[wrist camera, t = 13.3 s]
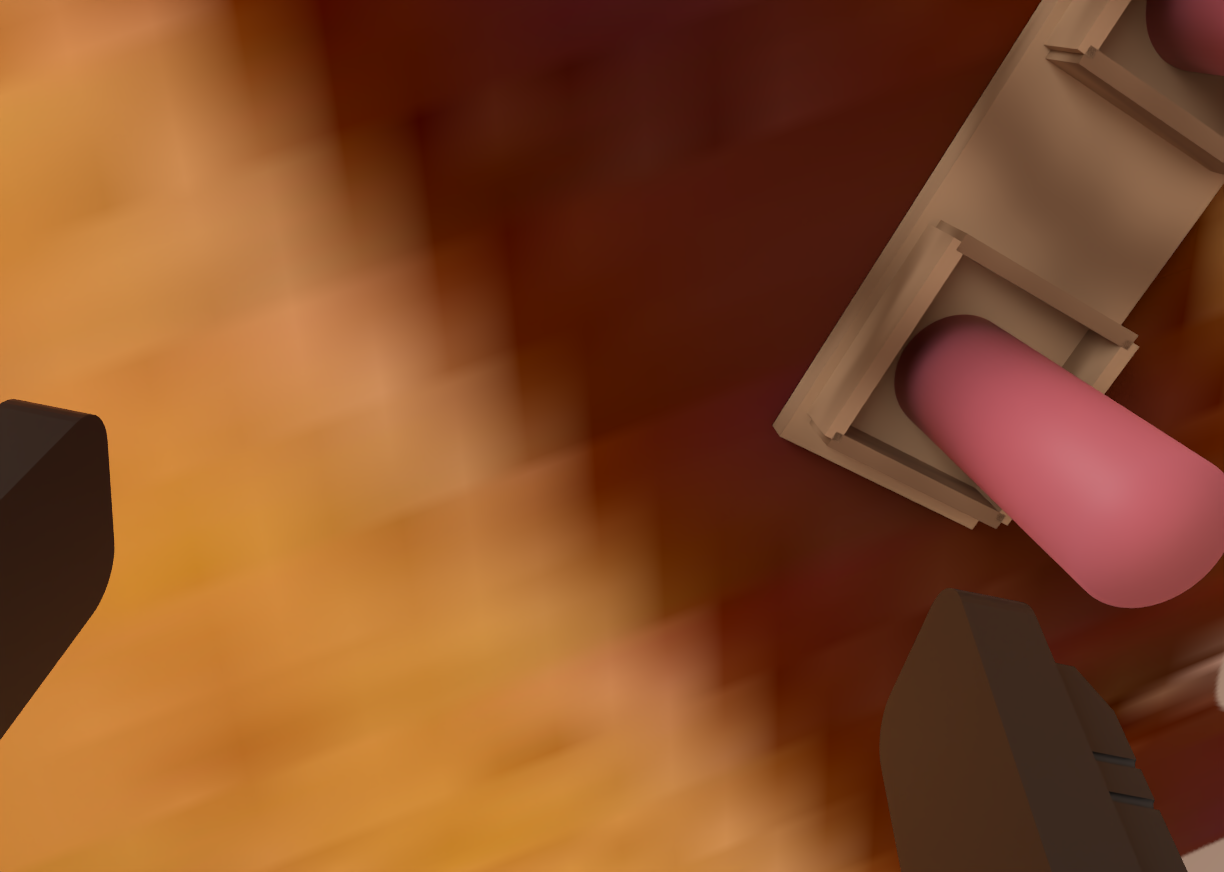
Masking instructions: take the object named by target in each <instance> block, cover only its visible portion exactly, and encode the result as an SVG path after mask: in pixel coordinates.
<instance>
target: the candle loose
mask: <svg viewBox="0 0 1224 872" xmlns="http://www.w3.org/2000/svg"><path fill="white" fill-rule="evenodd" d="M894 388H895V394H896V398H897V401H898V403H899V406H900V407H901V409H902V411H903V412H904V413H905V414H906V416H907V417H908V418H909V419H910V420H911V421H912V422H913V423H914V424H915V425H916V426H917V427H918V428H919V429H920V430H921V431H923V432H924V433H925V434H926V435H927V436H928V437H929V438H930V439H931V440H932V441H933V442H934V443H935V444H936V445H937V446H938V447H939V448H940V449H941V450H942V451H943V452H944V453H945V454H946V455H947V456H948V457H949V458H950V459H951V460H952V461H953V462H954V463H955V464H956V465H957V466H958V467H959V468H960V469H961V470H962V471H963V472H964V473H965V474H967V475H968V476H969V477H970V478H971V479H972V480H973V481H974V482H975V483H976V484H977V485H978V486H979V487H980V488H981V489H982V490H983V491H984V492H985V493H986V494H987V495H988V496H989V497H990V498H991V499H992V500H993V501H994V502H995V503H996V504H997V505H998V506H999V507H1000V508H1001V509H1002V510H1003V511H1004V512H1005V513H1006V514H1007V515H1008V516H1010V517H1011V518H1012V519H1013V520H1014V521H1015V522H1016V523H1017V524H1018V525H1019V526H1020V527H1021V528H1022V529H1023V530H1024V531H1025V532H1026V533H1027V534H1028V535H1029V536H1030V537H1031V538H1032V539H1033V540H1034V541H1035V542H1036V543H1037V544H1038V545H1039V546H1040V547H1041V548H1042V549H1043V550H1044V551H1045V552H1046V553H1047V554H1048V555H1049V556H1050V557H1051V558H1052V559H1054V560H1055V561H1056V562H1057V563H1058V564H1059V565H1060V566H1061V567H1062V568H1063V569H1064V570H1065V571H1066V572H1067V573H1068V574H1069V575H1070V576H1071V577H1072V578H1073V579H1074V580H1075V581H1076V582H1077V583H1078V584H1079V585H1080V586H1081V587H1082V588H1083V589H1084V590H1085V591H1086V592H1087V593H1089V594H1090V595H1091V596H1092V597H1094V598H1095V599H1097V600H1099V601H1101V602H1103V603H1105V604H1108V605H1111V606H1116V607H1122V608H1140V607H1146V606H1151V605H1155V604H1159V603H1162V602H1164V601H1167V600H1170V599H1172V598H1174V597H1176V596H1178V595H1180V594H1181V593H1183V592H1185V591H1186V590H1188V589H1189V588H1191V587H1192V586H1193V585H1195V584H1196V583H1197V582H1199V581H1200V580H1201V579H1202V578H1203V577H1204V576H1205V575H1206V574H1207V573H1208V572H1209V571H1210V570H1211V569H1212V568H1213V567H1214V565H1215V564H1216V563H1217V561H1218V560H1219V559H1220V557H1221V556H1222V554H1223V553H1224V473H1223V472H1222V471H1221V470H1220V469H1218V468H1217V467H1216V466H1215V465H1213V464H1212V463H1210V462H1209V461H1207V460H1205V459H1204V458H1202V457H1201V456H1199V455H1198V454H1196V453H1195V452H1193V451H1191V450H1190V449H1188V448H1187V447H1185V446H1184V445H1182V444H1181V443H1179V442H1177V441H1176V440H1174V439H1173V438H1171V437H1170V436H1168V435H1167V434H1165V433H1163V432H1162V431H1160V430H1159V429H1157V428H1156V427H1154V426H1153V425H1151V424H1149V423H1148V422H1146V421H1145V420H1143V419H1142V418H1140V417H1139V416H1137V415H1135V414H1134V413H1132V412H1131V411H1129V410H1128V409H1126V408H1124V407H1123V406H1121V405H1120V404H1118V403H1117V402H1115V401H1114V400H1112V399H1110V398H1109V397H1107V396H1106V395H1104V394H1103V393H1101V392H1100V391H1098V390H1096V389H1095V388H1093V387H1092V386H1090V385H1089V384H1087V383H1086V382H1084V381H1082V380H1081V379H1079V378H1078V377H1076V376H1075V375H1073V374H1072V373H1070V372H1068V371H1067V370H1065V369H1064V368H1062V367H1061V366H1059V365H1058V364H1056V363H1054V362H1053V361H1051V360H1050V359H1048V358H1047V357H1045V356H1044V355H1042V354H1040V353H1039V352H1037V351H1036V350H1034V349H1033V348H1031V347H1029V346H1028V345H1026V344H1025V343H1023V342H1022V341H1020V340H1019V339H1017V338H1015V337H1014V336H1012V335H1011V334H1009V333H1008V332H1006V331H1005V330H1003V329H1001V328H1000V327H998V326H997V325H995V324H994V323H992V322H991V321H989V320H987V319H985V318H982V317H979V316H975V315H953V316H949V317H945V318H942V319H940V320H937V321H935V322H933V323H931V324H930V325H928V326H927V327H925V328H924V329H922V330H921V331H920V332H919V333H918V334H916V335H915V336H914V338H913V339H912V340H911V341H910V342H909V343H908V345H907V346H906V347H905V349H904V351H903V353H902V354H901V356H900V359H899V361H898V364H897V367H896V371H895V378H894Z"/></svg>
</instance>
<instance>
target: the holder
mask: <svg viewBox="0 0 1224 872" xmlns="http://www.w3.org/2000/svg"><path fill="white" fill-rule="evenodd" d="M1146 4H1147V0H1042V1H1041V3H1040V4H1039V6H1038V8H1037V9H1036V11H1035V12H1034V14H1033V15H1032V17H1031V19H1030V20H1029V22H1028V23H1027V25H1026V26H1025V28H1024V30H1023V31H1022V33H1021V34H1020V36H1019V37H1018V39H1017V41H1016V42H1015V44H1014V45H1013V47H1012V48H1011V50H1010V52H1009V53H1008V55H1007V56H1006V58H1005V60H1004V61H1003V63H1002V64H1001V66H1000V67H999V69H998V71H997V72H996V74H995V75H994V77H993V78H992V80H991V82H990V83H989V85H988V86H987V88H986V89H985V91H984V93H983V94H982V96H981V97H980V99H979V101H978V102H977V104H976V105H975V107H974V108H973V110H972V112H971V113H970V115H969V116H968V118H967V119H966V121H965V123H964V124H963V126H962V127H961V129H960V130H959V132H958V134H957V135H956V137H955V138H954V140H953V142H952V143H951V145H950V146H949V148H948V149H947V151H946V153H945V154H944V156H943V157H942V159H941V160H940V162H939V164H938V165H937V167H936V168H935V170H934V171H933V173H932V175H931V176H930V178H929V179H928V181H927V183H926V184H925V186H924V187H923V189H922V190H921V192H920V194H919V195H918V197H917V198H916V200H915V201H914V203H913V205H912V206H911V208H910V209H909V211H908V212H907V214H906V216H905V217H904V219H903V220H902V222H901V223H900V225H899V227H898V228H897V230H896V231H895V233H894V235H893V236H892V238H891V239H890V241H889V242H888V244H887V246H886V247H885V249H884V250H883V252H882V253H881V255H880V257H879V258H878V260H877V261H876V263H875V264H874V266H873V268H872V269H871V271H870V272H869V274H868V276H867V277H866V279H865V280H864V282H863V283H862V285H861V287H860V288H859V290H858V291H857V293H856V294H855V296H854V298H853V299H852V301H851V302H850V304H849V305H848V307H847V309H846V310H845V312H844V313H843V315H842V317H841V318H840V320H839V321H838V323H837V324H836V326H835V328H834V329H833V331H832V332H831V334H830V335H829V337H828V339H827V340H826V342H825V343H824V345H823V346H822V348H821V350H820V351H819V353H818V354H817V356H816V358H815V359H814V361H813V362H812V364H811V365H810V367H809V369H808V370H807V372H806V373H805V375H804V376H803V378H802V380H801V381H800V383H799V384H798V386H797V387H796V389H795V391H794V392H793V394H792V395H791V397H790V398H789V400H788V402H787V403H786V405H785V406H784V408H783V410H782V411H781V413H780V414H779V416H778V417H777V419H776V421H775V422H774V424H773V427H774V428H775V430H776V431H777V433H778V434H779V436H780V437H782V438H784V439H787V440H789V441H791V442H793V443H795V444H797V445H799V446H801V447H803V448H805V449H807V450H809V451H811V452H813V453H815V454H817V455H820V456H822V457H824V458H826V459H828V460H830V461H832V462H834V463H836V464H838V465H840V466H842V467H844V468H846V469H848V470H850V471H852V472H855V473H857V474H859V475H861V476H863V477H865V478H867V479H869V480H871V481H873V482H875V483H877V484H879V485H881V486H883V487H885V488H888V489H890V490H892V491H894V492H896V493H898V494H900V495H902V496H904V497H906V498H908V499H910V500H912V501H914V502H916V503H918V504H920V505H923V506H925V507H927V508H929V509H931V510H933V511H935V512H937V513H939V514H941V515H943V516H945V517H947V518H949V519H951V520H953V521H956V522H958V523H960V524H962V525H964V526H966V527H968V528H970V529H973V528H974V526H975V525H976V524H977V522H978V521H981V522H983V523H985V524H987V525H989V526H991V527H993V528H995V529H997V527H998V526H999V525H1000V523H1003V524H1005V525H1008V524H1009V523H1010V521H1011V520H1012V518H1011V517H1010V516H1008V515H1007V514H1006V513H1005V512H1004V511H1003V510H1002V509H1001V508H1000V507H999V506H998V505H997V504H996V503H995V502H994V501H993V500H992V499H991V498H990V497H989V496H988V495H987V494H986V493H985V492H984V491H983V490H982V489H981V488H980V487H979V486H978V485H977V484H976V483H975V482H974V481H973V480H972V479H971V478H970V477H969V476H968V475H967V474H965V473H964V472H963V471H962V470H961V469H960V468H959V467H958V466H957V465H956V464H955V463H954V462H953V461H952V460H951V459H950V458H949V457H948V456H947V455H946V454H945V453H944V452H943V451H942V450H941V449H940V448H939V447H938V446H937V445H936V444H935V443H934V442H933V441H932V440H931V439H930V438H929V437H928V436H927V435H926V434H925V433H924V432H923V431H921V430H920V429H919V428H918V427H917V426H916V425H915V424H914V423H913V422H912V421H911V420H910V419H909V418H908V417H907V416H906V414H905V413H904V412H903V411H902V409H901V407H900V406H899V403H898V401H897V398H896V394H895V388H894V378H895V371H896V367H897V364H898V361H899V359H900V356H901V354H902V353H903V351H904V349H905V347H906V346H907V345H908V343H909V342H910V341H911V340H912V339H913V338H914V336H915V335H916V334H918V333H919V332H920V331H921V330H922V329H924V328H925V327H927V326H928V325H930V324H931V323H933V322H935V321H937V320H940V319H942V318H945V317H949V316H953V315H975V316H979V317H982V318H985V319H987V320H989V321H991V322H992V323H994V324H995V325H997V326H998V327H1000V328H1001V329H1003V330H1005V331H1006V332H1008V333H1009V334H1011V335H1012V336H1014V337H1015V338H1017V339H1019V340H1020V341H1022V342H1023V343H1025V344H1026V345H1028V346H1029V347H1031V348H1033V349H1034V350H1036V351H1037V352H1039V353H1040V354H1042V355H1044V356H1045V357H1047V358H1048V359H1050V360H1051V361H1053V362H1054V363H1056V364H1058V365H1059V366H1061V367H1062V368H1064V369H1065V370H1067V371H1068V372H1070V373H1072V374H1073V375H1075V376H1076V377H1078V378H1079V379H1081V380H1082V381H1084V382H1086V383H1087V384H1089V385H1090V386H1092V387H1093V388H1095V389H1096V390H1098V391H1100V392H1101V393H1103V394H1105V393H1106V391H1107V390H1108V388H1109V387H1110V386H1111V384H1112V383H1113V382H1114V380H1115V379H1116V378H1117V376H1118V375H1119V374H1120V372H1121V371H1122V370H1123V368H1124V367H1125V365H1126V364H1127V363H1128V361H1129V360H1130V359H1131V357H1132V356H1133V355H1134V353H1135V352H1136V351H1137V349H1138V348H1139V346H1137V345H1135V344H1134V343H1133V342H1134V341H1135V340H1136V338H1137V337H1138V335H1137V334H1135V333H1133V332H1132V331H1130V330H1128V329H1127V328H1125V327H1123V326H1122V325H1121V324H1122V323H1123V321H1124V320H1125V319H1126V317H1127V316H1128V314H1129V313H1130V312H1131V310H1132V309H1133V308H1134V306H1135V305H1136V303H1137V302H1138V301H1139V299H1140V298H1141V297H1142V295H1143V294H1144V292H1145V291H1146V290H1147V288H1148V287H1149V286H1150V284H1151V283H1152V281H1153V280H1154V279H1155V277H1156V276H1157V275H1158V273H1159V272H1160V270H1161V269H1162V268H1163V266H1164V265H1165V264H1166V262H1167V261H1168V259H1169V258H1170V257H1171V255H1172V254H1173V253H1174V251H1175V250H1176V248H1177V247H1178V246H1179V244H1180V243H1181V241H1182V240H1183V239H1184V237H1185V236H1186V235H1187V233H1188V232H1189V230H1190V229H1191V228H1192V226H1193V225H1194V224H1195V222H1196V221H1197V219H1198V218H1199V217H1200V215H1201V214H1202V213H1203V211H1204V210H1205V208H1206V207H1207V206H1208V204H1209V203H1210V202H1211V200H1212V199H1213V197H1214V196H1215V195H1216V193H1217V192H1218V191H1219V189H1220V188H1221V186H1222V185H1223V184H1224V76H1219V75H1212V74H1205V73H1197V72H1190V71H1185V70H1181V69H1178V68H1175V67H1173V66H1172V65H1170V64H1168V63H1167V62H1166V61H1164V60H1163V59H1162V58H1161V57H1160V56H1159V54H1158V53H1157V52H1156V50H1155V49H1154V47H1153V45H1152V43H1151V41H1150V38H1149V35H1148V31H1147V25H1146Z"/></svg>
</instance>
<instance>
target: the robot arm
mask: <svg viewBox="0 0 1224 872" xmlns="http://www.w3.org/2000/svg"><path fill="white" fill-rule="evenodd" d="M113 559H114V532H113V517H112V502H111V487H110V472H109V457H108V442H107V433H106V429H105V426H104V424H103V422H102V420H101V419H100V418H99V417H98V416H96V415H92V414H87V413H82V412H77V411H72V410H67V409H62V408H57V407H52V406H47V405H42V404H37V403H32V402H27V401H22V400H16V399H11V400H7V401H5V402H2V403H1V404H0V739H1V738H2V737H3V735H4V734H5V733H6V731H7V730H8V729H9V727H10V726H11V724H12V723H13V722H14V720H15V719H16V718H17V716H18V715H19V714H20V712H21V711H22V709H23V708H24V707H25V705H26V704H27V703H28V701H29V700H30V699H31V697H32V696H33V695H34V693H35V692H36V690H37V689H38V688H39V686H40V685H41V684H42V682H43V681H44V680H45V678H46V677H47V675H48V674H49V673H50V671H51V670H52V669H53V667H54V666H55V665H56V663H57V662H58V661H59V659H60V658H61V656H62V655H63V654H64V652H65V651H66V650H67V648H68V647H69V646H70V644H71V643H72V641H73V640H74V639H75V637H76V636H77V635H78V633H79V632H80V631H81V629H82V628H83V626H84V625H85V624H86V622H87V621H88V620H89V618H90V617H91V616H92V614H93V613H94V611H95V610H96V608H97V606H98V605H99V603H100V601H101V599H102V597H103V594H104V592H105V590H106V587H107V584H108V581H109V578H110V574H111V570H112V565H113ZM1135 761H1136V758H1135V756H1134V754H1133V752H1132V750H1131V747H1130V745H1129V743H1128V741H1127V739H1126V736H1125V734H1124V732H1123V730H1122V728H1121V726H1120V723H1119V721H1118V719H1117V717H1116V715H1115V712H1114V711H1113V710H1112V709H1111V708H1110V707H1109V705H1108V704H1107V703H1106V702H1105V701H1104V700H1103V699H1102V697H1101V696H1100V695H1099V694H1098V693H1097V692H1096V691H1095V690H1094V688H1093V687H1092V686H1091V685H1090V684H1089V683H1088V682H1087V681H1086V679H1085V678H1084V677H1083V676H1082V675H1081V674H1080V673H1079V672H1078V670H1077V669H1076V668H1075V667H1073V666H1068V665H1063V664H1058V663H1055V661H1054V659H1053V656H1052V654H1051V652H1050V649H1049V647H1048V644H1047V642H1046V639H1045V637H1044V635H1043V632H1042V630H1041V627H1040V625H1039V623H1038V620H1037V618H1036V616H1035V614H1034V612H1033V610H1032V609H1031V607H1030V606H1029V605H1027V604H1026V603H1022V602H1018V601H1013V600H1008V599H1003V598H998V597H993V596H988V595H983V594H978V593H973V592H968V591H963V590H958V589H953V588H947V589H945V590H943V591H942V592H941V593H940V594H939V595H938V596H937V598H936V599H935V600H934V602H933V604H932V606H931V608H930V610H929V613H928V615H927V617H926V619H925V621H924V623H923V625H922V628H921V630H920V632H919V634H918V636H917V638H916V640H915V643H914V645H913V647H912V649H911V651H910V653H909V655H908V658H907V660H906V662H905V664H904V666H903V668H902V670H901V673H900V675H899V677H898V679H897V681H896V683H895V686H894V688H893V690H892V692H891V694H890V696H889V699H888V701H887V704H886V707H885V711H884V715H883V719H882V725H881V733H880V762H881V769H882V774H883V779H884V784H885V790H886V795H887V800H888V805H889V810H890V816H891V821H892V826H893V831H894V836H895V842H896V847H897V852H898V857H899V862H900V868H901V872H1187V870H1186V867H1185V865H1184V863H1183V861H1182V859H1181V857H1180V854H1179V852H1178V850H1177V848H1176V846H1175V843H1174V841H1173V839H1172V837H1171V835H1170V833H1169V830H1168V828H1167V826H1166V824H1165V822H1164V819H1163V817H1162V815H1161V813H1160V811H1159V810H1155V809H1154V808H1153V803H1154V798H1153V795H1152V793H1151V791H1150V789H1149V787H1148V785H1147V782H1146V780H1145V778H1144V776H1143V774H1142V771H1141V769H1136V768H1135Z"/></svg>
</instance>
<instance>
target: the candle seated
mask: <svg viewBox="0 0 1224 872" xmlns="http://www.w3.org/2000/svg"><path fill="white" fill-rule="evenodd" d="M1146 25H1147V31H1148V35H1149V38H1150V41H1151V43H1152V45H1153V47H1154V49H1155V50H1156V52H1157V53H1158V54H1159V56H1160V57H1161V58H1162V59H1163V60H1164V61H1166V62H1167V63H1168V64H1170V65H1172V66H1173V67H1175V68H1178V69H1181V70H1185V71H1190V72H1197V73H1205V74H1212V75H1219V76H1224V0H1147V4H1146Z"/></svg>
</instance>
